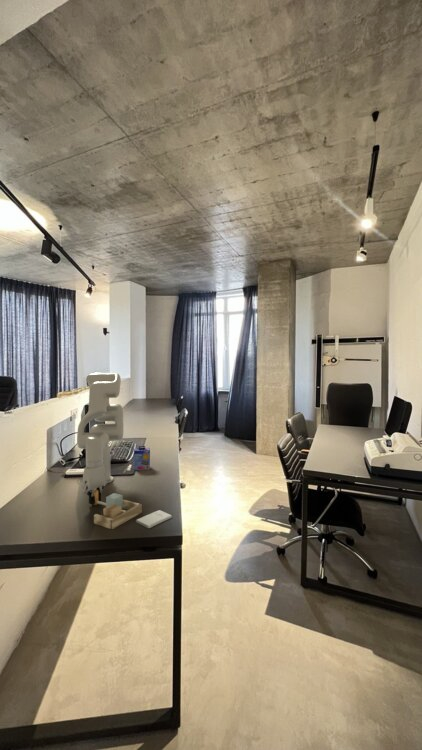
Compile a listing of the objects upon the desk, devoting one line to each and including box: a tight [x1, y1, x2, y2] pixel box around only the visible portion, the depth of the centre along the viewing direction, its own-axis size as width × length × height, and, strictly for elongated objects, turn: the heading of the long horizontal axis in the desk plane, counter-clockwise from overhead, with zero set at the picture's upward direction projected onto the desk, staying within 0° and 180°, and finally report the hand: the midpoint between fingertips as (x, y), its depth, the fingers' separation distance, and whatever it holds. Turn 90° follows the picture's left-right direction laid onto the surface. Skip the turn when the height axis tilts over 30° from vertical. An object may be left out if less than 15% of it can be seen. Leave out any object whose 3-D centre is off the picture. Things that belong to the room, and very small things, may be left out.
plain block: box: [102, 504, 122, 519], centre depth 136 cm, size 5×5×6 cm
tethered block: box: [93, 489, 124, 510], centre depth 149 cm, size 16×5×6 cm, turn 62°
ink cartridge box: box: [133, 445, 151, 471], centre depth 205 cm, size 10×6×14 cm, turn 104°
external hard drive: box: [135, 509, 173, 529], centre depth 138 cm, size 2×8×12 cm
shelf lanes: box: [93, 499, 143, 530], centre depth 140 cm, size 10×17×4 cm, turn 151°
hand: (95, 502), depth 152 cm, fingers closed on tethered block, 3 cm apart
